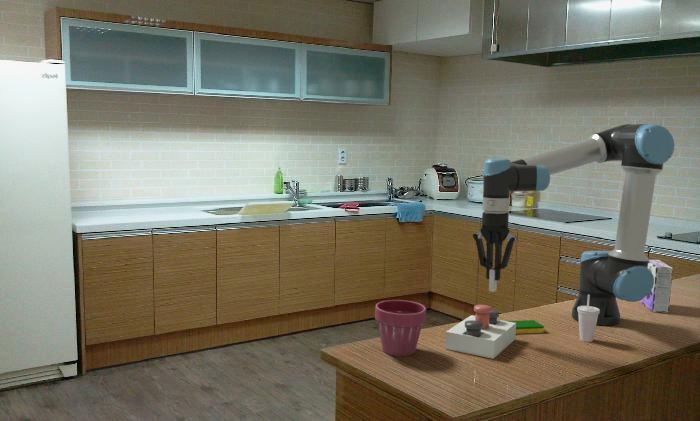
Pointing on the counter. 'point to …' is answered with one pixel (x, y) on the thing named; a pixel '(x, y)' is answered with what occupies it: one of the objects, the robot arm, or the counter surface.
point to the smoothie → (587, 321)
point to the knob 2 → (493, 317)
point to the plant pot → (399, 325)
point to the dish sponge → (528, 326)
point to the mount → (481, 338)
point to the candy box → (659, 287)
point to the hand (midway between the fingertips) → (492, 290)
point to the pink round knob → (483, 314)
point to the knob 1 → (473, 328)
